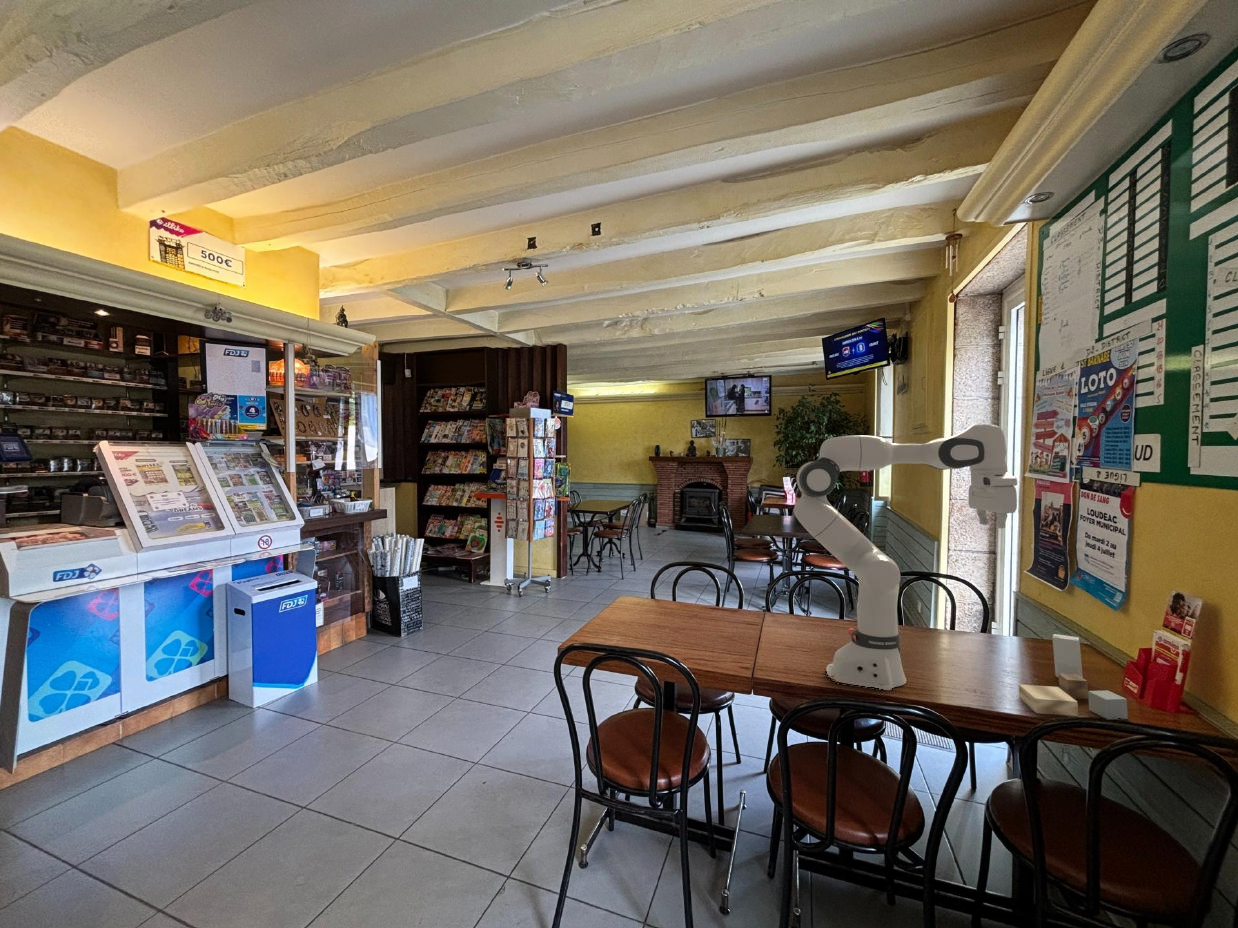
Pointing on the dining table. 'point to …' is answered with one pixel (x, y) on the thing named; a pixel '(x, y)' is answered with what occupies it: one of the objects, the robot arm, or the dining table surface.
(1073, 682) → the walnut block
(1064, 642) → the skincare box
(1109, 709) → the slate cube
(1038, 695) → the maple pedestal
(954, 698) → the dining table surface
